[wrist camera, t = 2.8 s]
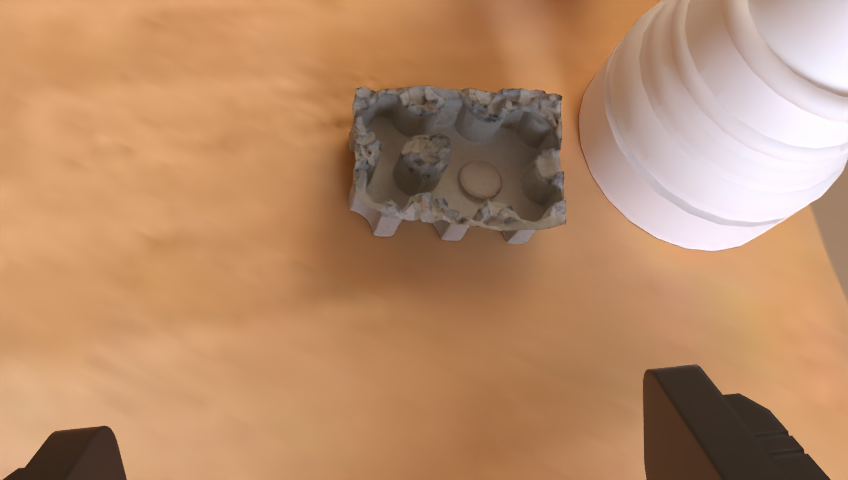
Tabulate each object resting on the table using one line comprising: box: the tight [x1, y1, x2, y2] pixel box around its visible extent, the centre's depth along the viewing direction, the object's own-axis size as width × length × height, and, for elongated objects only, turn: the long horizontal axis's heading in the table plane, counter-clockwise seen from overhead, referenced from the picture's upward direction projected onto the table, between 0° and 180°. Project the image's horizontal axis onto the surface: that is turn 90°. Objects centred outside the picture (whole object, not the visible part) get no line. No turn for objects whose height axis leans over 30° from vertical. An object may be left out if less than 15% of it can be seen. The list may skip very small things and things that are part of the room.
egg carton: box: [348, 86, 566, 244], centre depth 38 cm, size 11×8×4 cm
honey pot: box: [578, 0, 848, 251], centre depth 36 cm, size 13×13×18 cm
